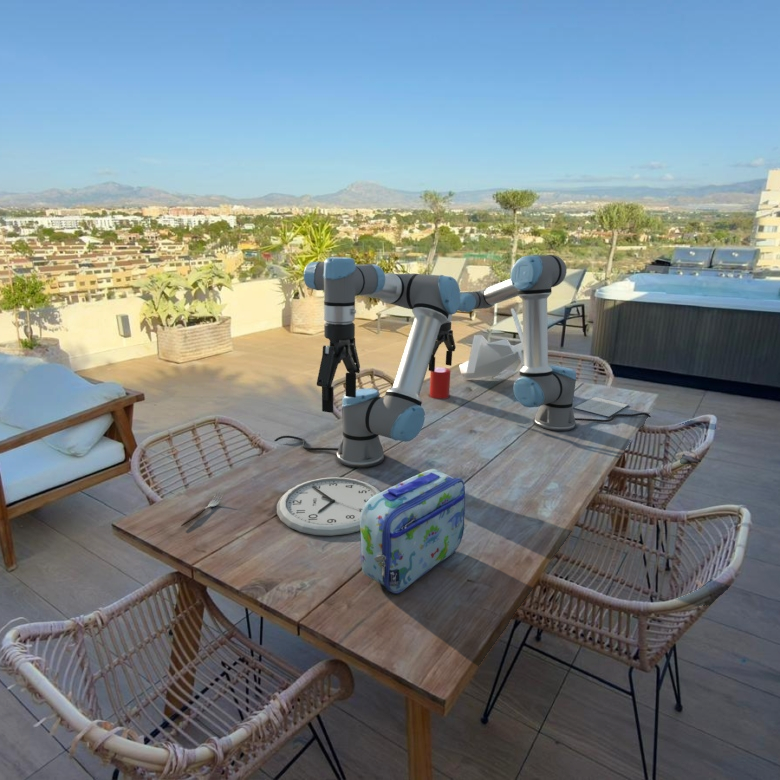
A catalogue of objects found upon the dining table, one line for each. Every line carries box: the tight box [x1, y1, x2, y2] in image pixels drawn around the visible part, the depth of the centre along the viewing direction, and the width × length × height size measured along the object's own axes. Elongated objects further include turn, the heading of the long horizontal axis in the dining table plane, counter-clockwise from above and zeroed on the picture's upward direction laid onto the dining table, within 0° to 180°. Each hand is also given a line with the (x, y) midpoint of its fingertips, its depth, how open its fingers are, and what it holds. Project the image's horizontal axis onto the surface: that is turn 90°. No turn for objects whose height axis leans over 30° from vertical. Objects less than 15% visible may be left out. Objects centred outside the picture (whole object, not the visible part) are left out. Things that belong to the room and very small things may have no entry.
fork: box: [180, 491, 225, 527], centre depth 138 cm, size 3×16×2 cm, turn 160°
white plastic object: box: [458, 307, 524, 380], centre depth 255 cm, size 37×45×31 cm
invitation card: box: [573, 396, 629, 418], centre depth 226 cm, size 21×1×15 cm
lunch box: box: [359, 468, 466, 594], centre depth 114 cm, size 26×11×21 cm, turn 134°
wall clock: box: [276, 476, 382, 537], centre depth 142 cm, size 30×2×30 cm
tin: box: [429, 366, 451, 400], centre depth 236 cm, size 9×9×12 cm
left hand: (339, 404), depth 135 cm, fingers open, 13 cm apart
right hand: (440, 368), depth 234 cm, fingers open, 13 cm apart
